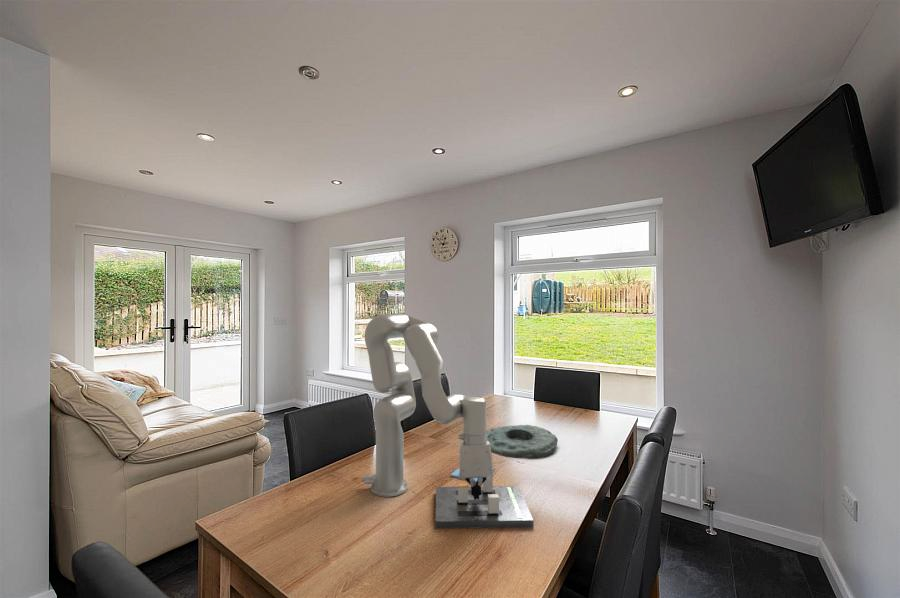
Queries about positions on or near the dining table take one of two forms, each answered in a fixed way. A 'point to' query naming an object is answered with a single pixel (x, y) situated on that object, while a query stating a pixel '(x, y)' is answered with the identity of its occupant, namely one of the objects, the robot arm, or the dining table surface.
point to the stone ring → (534, 447)
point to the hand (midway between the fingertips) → (476, 497)
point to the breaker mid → (463, 492)
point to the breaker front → (493, 503)
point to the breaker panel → (482, 509)
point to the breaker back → (488, 485)
